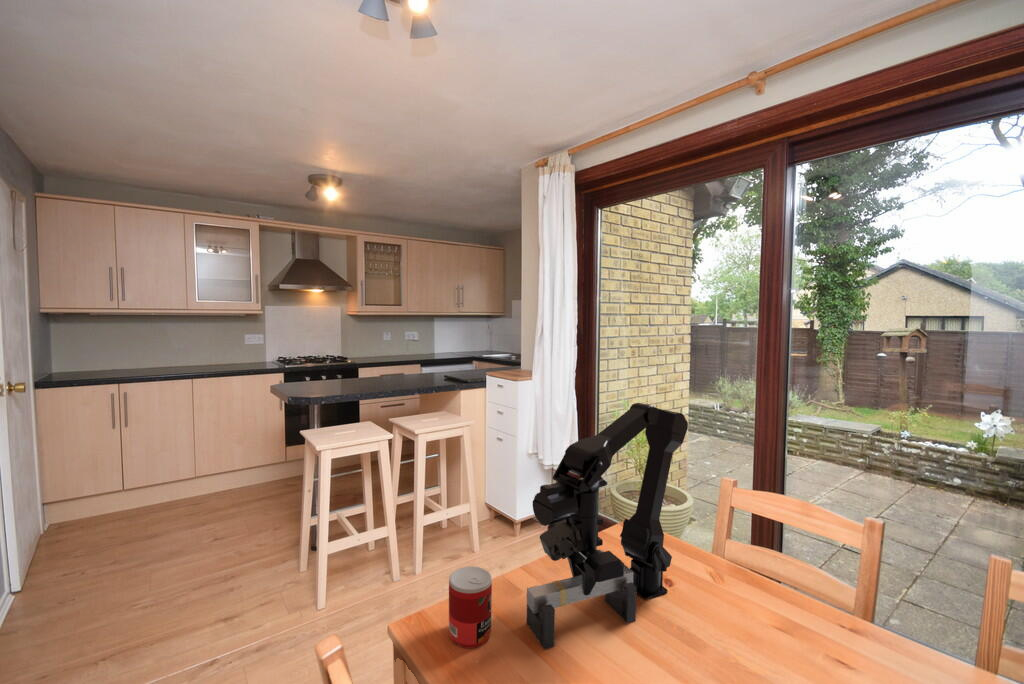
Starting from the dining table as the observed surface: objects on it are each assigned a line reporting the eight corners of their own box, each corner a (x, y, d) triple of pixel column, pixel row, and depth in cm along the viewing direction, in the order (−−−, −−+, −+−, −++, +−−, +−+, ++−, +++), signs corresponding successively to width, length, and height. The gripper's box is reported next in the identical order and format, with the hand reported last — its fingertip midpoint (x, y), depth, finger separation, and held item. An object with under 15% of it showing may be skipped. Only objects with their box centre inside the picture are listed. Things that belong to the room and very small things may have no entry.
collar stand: (612, 598, 95) (613, 566, 95) (635, 621, 88) (636, 586, 88) (526, 623, 88) (526, 588, 87) (544, 649, 81) (544, 611, 80)
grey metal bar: (623, 578, 93) (624, 563, 93) (633, 586, 91) (633, 571, 90) (526, 604, 85) (527, 588, 85) (534, 614, 82) (534, 597, 82)
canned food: (485, 652, 80) (485, 592, 79) (442, 645, 81) (442, 586, 81) (495, 623, 87) (496, 568, 87) (456, 617, 89) (456, 563, 88)
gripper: (524, 499, 92) (524, 573, 93) (571, 541, 75) (570, 632, 76) (572, 491, 96) (571, 562, 97) (627, 529, 79) (625, 615, 80)
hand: (582, 589), depth 88 cm, fingers closed on grey metal bar, 3 cm apart
